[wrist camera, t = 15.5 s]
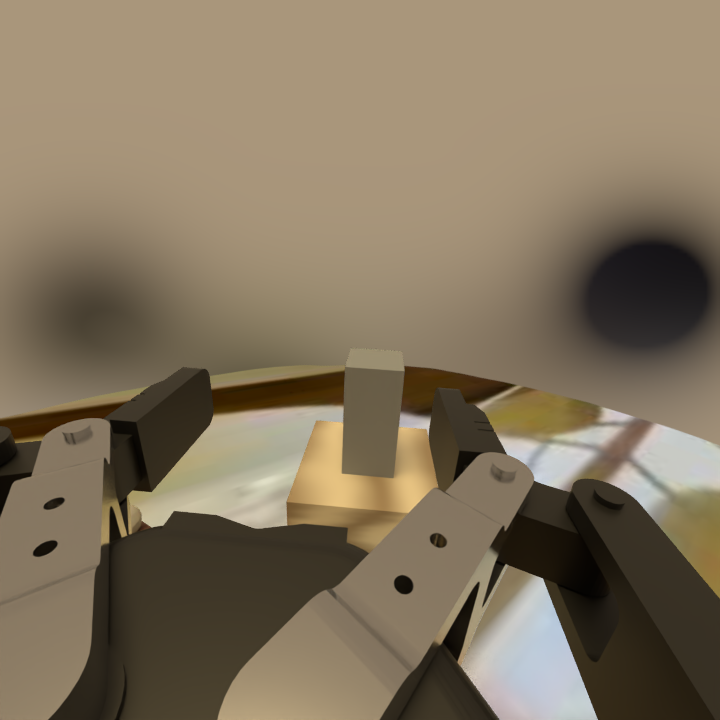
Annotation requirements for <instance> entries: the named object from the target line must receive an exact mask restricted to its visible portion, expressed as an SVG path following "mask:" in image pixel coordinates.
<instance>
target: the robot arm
mask: <svg viewBox="0 0 720 720" xmlns="http://www.w3.org/2000/svg"><path fill="white" fill-rule="evenodd" d="M212 417H213V401H212V393H211V384H210V376H209V373H208V371H207V370H206V369H198V368H187V367H183V368H181V369H180V370H178V371H177V372H175V373H174V374H173V375H171V376H170V377H168V378H167V379H165V380H164V381H161V382H159V383H156V384H154V385H151V386H150V387H148V388H147V389H145V390H144V391H143V392H141V393H140V395H137V396H135V397H134V398H132V399H131V401H128V402H127V403H125V404H124V405H122V406H121V407H120V408H118V409H117V410H115V411H114V412H112V413H111V414H109V415H108V416H107V417H105V418H104V419H99V418H89V419H82V420H77V421H73V422H70V423H67V424H64V425H61V426H59V427H57V428H55V429H53V430H52V431H50V432H49V433H48V434H46V435H45V436H44V438H43V440H42V441H35V442H25V443H15V441H14V439H13V436H12V433H11V431H10V429H8V428H7V427H2V426H0V720H499V718H498V717H497V716H496V714H495V713H494V712H493V710H492V709H491V707H490V706H489V705H488V703H487V702H486V701H485V699H484V698H483V697H482V695H481V694H480V692H479V691H478V690H477V688H476V687H475V686H474V684H473V683H472V682H471V680H470V679H469V677H468V676H467V675H466V673H465V672H464V671H463V669H462V668H461V664H462V662H463V660H464V658H465V655H466V653H467V651H468V649H469V646H470V644H471V641H472V639H473V636H474V633H475V631H476V628H477V626H478V624H479V621H480V619H481V617H482V615H483V613H484V611H485V609H486V607H487V605H488V603H489V602H490V600H491V598H492V596H493V594H494V592H495V590H496V588H497V586H498V584H499V582H500V580H501V578H502V576H503V574H504V572H505V570H506V568H507V566H508V565H509V566H512V567H515V568H517V569H520V570H522V571H525V572H528V573H530V574H533V575H536V576H538V577H541V578H543V579H544V582H545V585H546V587H547V590H548V592H549V595H550V598H551V600H552V603H553V605H554V608H555V610H556V613H557V616H558V618H559V621H560V623H561V626H562V628H563V631H564V634H565V636H566V639H567V641H568V644H569V646H570V649H571V652H572V654H573V657H574V659H575V662H576V664H577V667H578V670H579V672H580V675H581V677H582V680H583V682H584V685H585V688H586V690H587V693H588V695H589V698H590V700H591V703H592V706H593V708H594V711H595V713H596V716H597V718H598V720H720V599H719V597H718V596H717V595H716V594H715V593H714V591H713V590H712V589H711V588H710V587H709V586H708V584H707V583H706V582H705V581H704V580H703V578H702V577H701V576H700V575H699V574H698V572H697V571H696V570H695V569H694V568H693V566H692V565H691V564H690V563H689V562H688V561H687V559H686V558H685V557H684V556H683V555H682V553H681V552H680V551H679V550H678V549H677V547H676V546H675V545H674V544H673V543H672V542H671V540H670V539H669V538H668V537H667V536H666V534H665V533H664V532H663V531H662V530H661V528H660V527H659V526H658V525H657V524H656V522H655V521H654V520H653V519H652V518H651V517H650V515H649V514H648V513H647V512H646V511H645V509H644V508H643V507H642V506H641V505H640V504H639V503H638V501H637V500H635V499H634V498H633V497H632V496H631V495H629V494H628V493H626V492H625V491H623V490H621V489H619V488H618V487H616V486H613V485H611V484H609V483H606V482H603V481H599V480H594V479H580V480H578V481H576V482H575V483H574V484H573V486H572V489H571V491H570V492H567V491H563V490H560V489H557V488H553V487H550V486H547V485H544V484H541V483H538V482H536V481H534V476H533V474H532V472H531V470H530V469H529V468H528V467H527V466H526V465H525V464H524V463H522V462H521V461H519V460H518V459H516V458H513V457H511V456H509V455H507V454H506V452H505V450H504V448H503V446H502V444H501V442H500V441H499V439H498V437H497V435H496V433H495V432H494V429H493V428H492V426H491V424H490V422H489V420H488V418H487V416H486V415H485V413H484V412H483V411H481V410H480V409H479V408H478V407H476V406H475V405H471V404H466V403H465V401H464V399H463V396H462V394H461V392H460V390H459V389H446V388H437V389H436V391H435V396H434V402H433V409H432V415H431V422H430V428H429V445H430V450H431V455H432V459H433V464H434V469H435V474H436V479H437V483H438V488H437V487H435V488H433V489H432V490H430V491H429V492H428V493H427V494H426V495H425V496H424V498H423V499H422V500H421V501H420V502H419V503H418V504H417V505H416V506H415V507H414V508H413V509H412V510H411V511H410V512H409V513H408V514H407V515H406V516H405V517H404V518H403V519H402V520H401V521H400V522H399V523H398V524H397V525H396V526H395V527H394V528H393V529H392V530H391V532H390V533H389V534H388V535H387V536H386V537H385V538H384V539H383V540H382V541H381V542H380V543H379V544H378V545H377V546H376V547H375V548H374V549H373V550H372V551H371V552H370V553H368V552H367V551H365V550H363V549H361V548H359V547H357V546H355V545H353V544H350V543H347V535H348V528H346V527H335V526H325V525H314V524H297V525H288V526H280V527H271V528H263V529H254V528H251V527H248V526H245V525H242V524H240V523H237V522H234V521H231V520H228V519H226V518H223V517H220V516H217V515H209V514H199V513H188V512H178V511H174V512H173V513H172V515H171V516H170V518H169V519H168V520H167V522H166V523H165V524H164V526H158V527H153V528H148V529H145V530H141V531H138V532H135V533H132V528H131V511H130V502H129V498H128V494H129V493H130V492H131V491H132V490H135V491H145V492H152V491H153V490H154V489H155V488H156V486H157V485H158V484H159V483H160V482H161V481H162V479H163V478H164V477H165V476H166V475H167V474H168V472H169V471H170V470H171V469H172V468H173V467H174V466H175V464H176V463H177V462H178V461H179V460H180V459H181V457H182V456H183V455H184V454H185V453H186V452H187V451H188V449H189V448H190V447H191V446H192V445H193V444H194V442H195V441H196V440H197V439H198V438H199V437H200V436H201V434H202V433H203V432H204V431H205V430H206V429H207V427H208V426H209V425H210V423H211V421H212Z"/></svg>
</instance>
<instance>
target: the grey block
mask: <svg viewBox="0 0 720 720" xmlns="http://www.w3.org/2000/svg"><path fill="white" fill-rule="evenodd" d="M403 381H404V363H403V354H402V351H387V350H374V349H360V348H351V350H350V353H349V356H348V360H347V363H346V366H345V387H344V417H343V447H342V474H351V475H362V476H373V477H384V478H394V469H395V460H396V450H397V440H398V430H399V420H400V410H401V400H402V391H403Z"/></svg>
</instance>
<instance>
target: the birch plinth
mask: <svg viewBox="0 0 720 720" xmlns="http://www.w3.org/2000/svg"><path fill="white" fill-rule="evenodd" d="M342 447H343V423H340V422H328V421H316V423H315V426H314V429H313V431H312V434H311V437H310V439H309V442H308V445H307V448H306V450H305V453H304V456H303V459H302V461H301V464H300V467H299V469H298V472H297V475H296V478H295V480H294V483H293V486H292V488H291V491H290V494H289V497H288V499H287V525H297V524H314V525H325V526H335V527H346V528H348V535H347V543H350V544H353V545H355V546H357V547H359V548H361V549H363V550H365V551H367V552H368V553H370V552H371V551H372V550H373V549H374V548H375V547H376V546H377V545H378V544H379V543H380V542H381V541H382V540H383V539H384V538H385V537H386V536H387V535H388V534H389V533H390V532H391V530H392V529H393V528H394V527H395V526H396V525H397V524H398V523H399V522H400V521H401V520H402V519H403V518H404V517H405V516H406V515H407V514H408V513H409V512H410V511H411V510H412V509H413V508H414V507H415V506H416V505H417V504H418V503H419V502H420V501H421V500H422V499H423V498H424V496H425V495H426V494H427V493H428V492H429V491H430V490H432V489H433V488H435V487H437V488H438V485H437V480H436V475H435V470H434V465H433V460H432V455H431V450H430V445H429V440H428V435H427V430H426V429H416V428H403V427H399V430H398V440H397V450H396V460H395V469H394V478H384V477H373V476H362V475H351V474H342Z"/></svg>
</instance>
